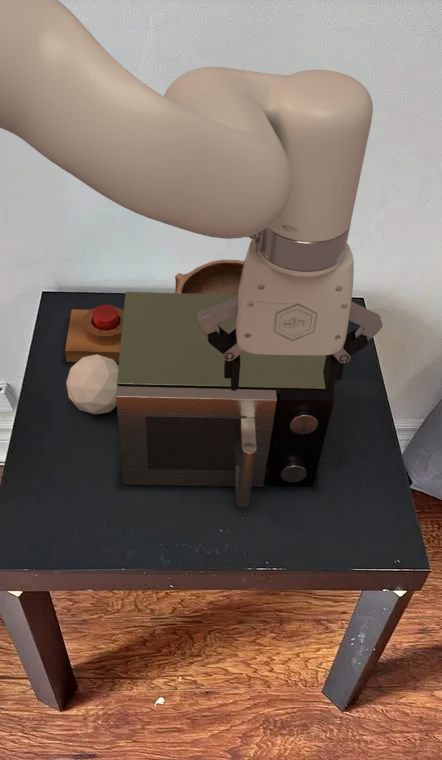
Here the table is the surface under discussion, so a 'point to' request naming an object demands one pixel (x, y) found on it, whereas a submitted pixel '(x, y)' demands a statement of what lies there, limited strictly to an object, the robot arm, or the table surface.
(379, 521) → the table surface
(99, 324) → the release button
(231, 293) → the bowl
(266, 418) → the microwave door
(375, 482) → the table surface
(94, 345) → the button block
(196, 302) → the microwave
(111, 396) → the geometric ball
